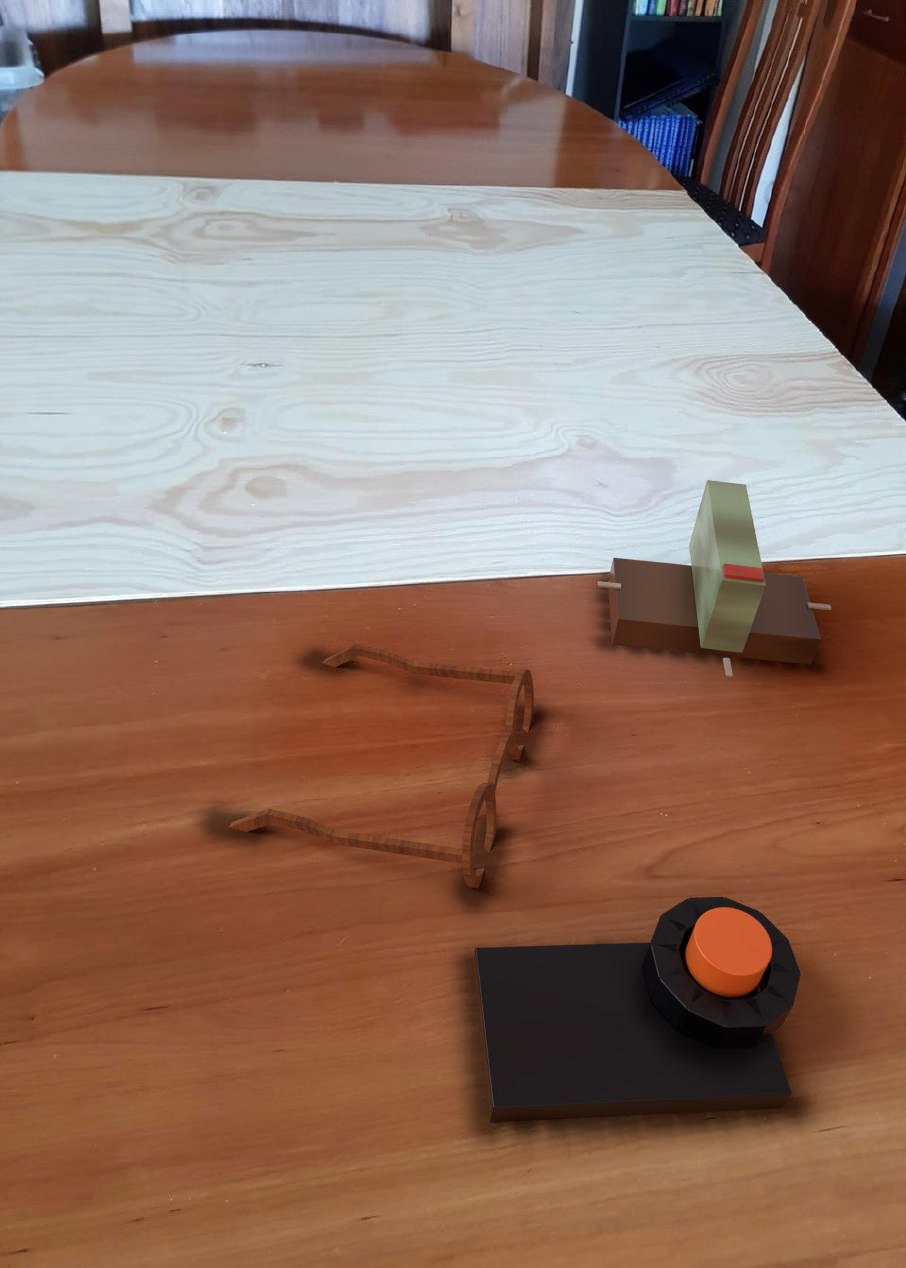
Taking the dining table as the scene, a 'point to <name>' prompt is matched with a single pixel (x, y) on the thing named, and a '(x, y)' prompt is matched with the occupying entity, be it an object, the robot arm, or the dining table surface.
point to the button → (728, 952)
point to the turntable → (667, 617)
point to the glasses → (482, 793)
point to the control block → (629, 1027)
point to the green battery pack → (725, 567)
